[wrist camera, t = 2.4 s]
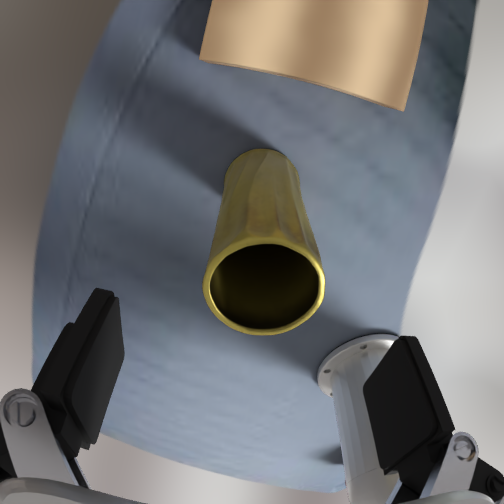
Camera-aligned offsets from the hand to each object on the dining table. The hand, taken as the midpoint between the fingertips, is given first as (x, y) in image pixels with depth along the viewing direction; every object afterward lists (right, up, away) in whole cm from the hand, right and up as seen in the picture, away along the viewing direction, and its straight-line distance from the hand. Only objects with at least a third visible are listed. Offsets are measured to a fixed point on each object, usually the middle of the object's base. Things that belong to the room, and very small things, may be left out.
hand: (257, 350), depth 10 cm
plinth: (+5, +22, +8) cm, 24 cm away
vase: (+1, +9, +16) cm, 18 cm away
